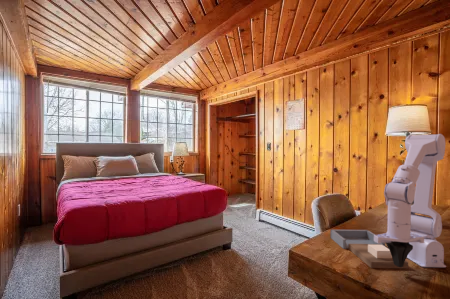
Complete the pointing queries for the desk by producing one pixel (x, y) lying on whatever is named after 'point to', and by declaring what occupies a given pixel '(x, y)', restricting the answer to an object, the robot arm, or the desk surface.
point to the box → (352, 237)
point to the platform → (372, 257)
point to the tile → (379, 251)
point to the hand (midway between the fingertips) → (398, 265)
